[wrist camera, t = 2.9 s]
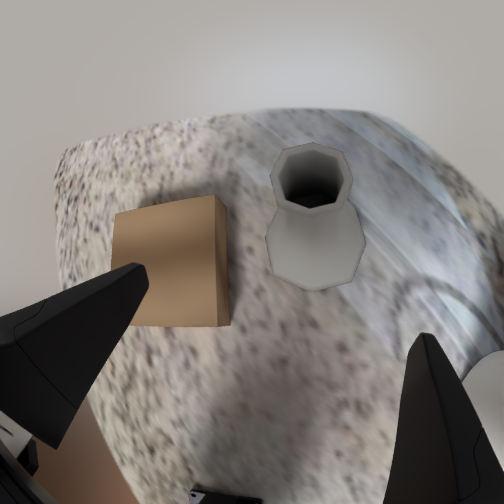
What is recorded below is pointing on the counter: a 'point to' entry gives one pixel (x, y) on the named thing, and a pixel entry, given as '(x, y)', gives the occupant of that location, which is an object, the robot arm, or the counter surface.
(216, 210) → the square wooden block
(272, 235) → the flask
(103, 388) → the counter surface
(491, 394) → the pill bottle
